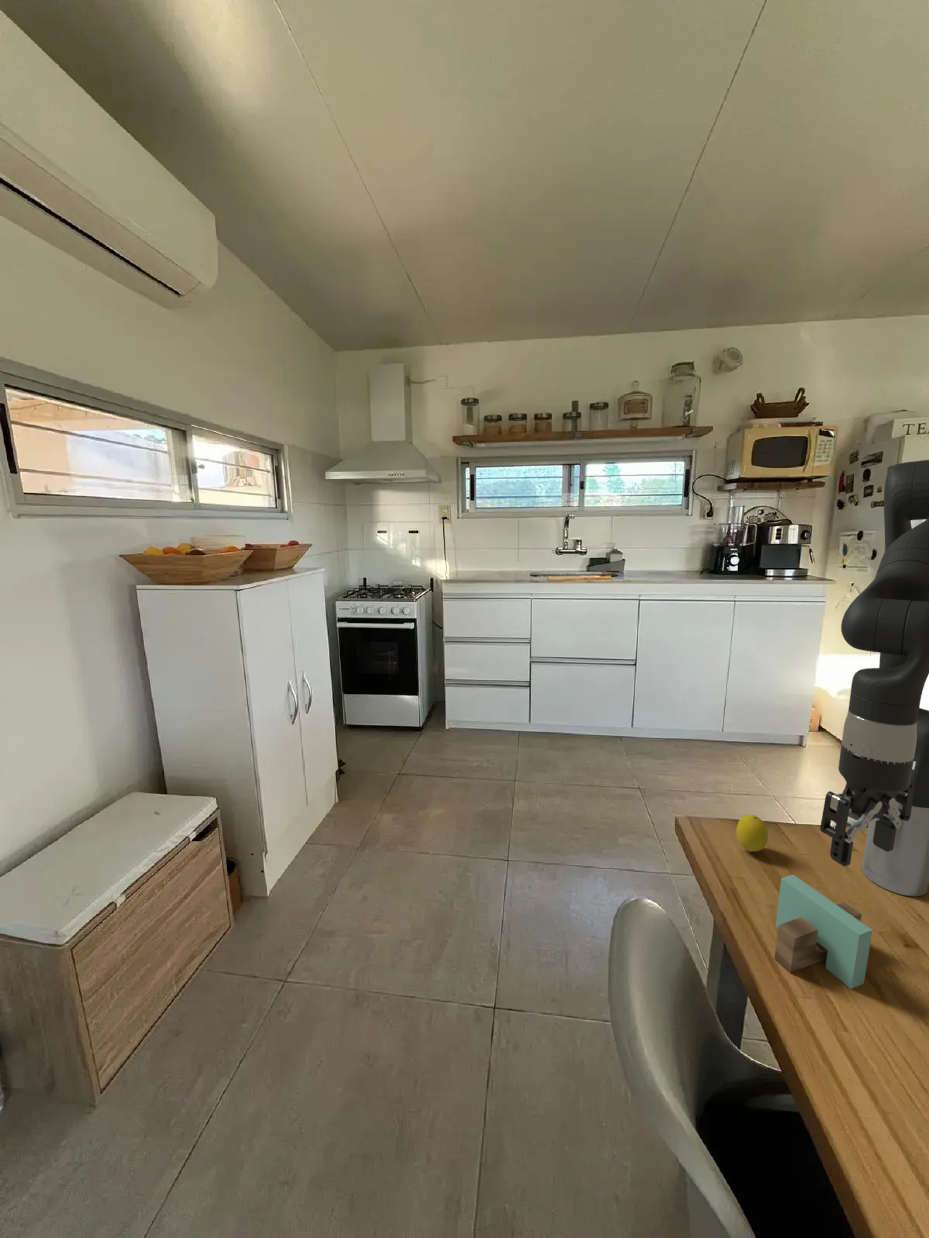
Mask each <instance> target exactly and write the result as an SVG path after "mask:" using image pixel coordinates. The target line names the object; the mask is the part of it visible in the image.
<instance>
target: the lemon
mask: <svg viewBox="0 0 929 1238" xmlns="http://www.w3.org/2000/svg"><path fill="white" fill-rule="evenodd" d="M735 831H736V835H735V836H736V838H737V841H738V843H739V844H740V845H741V847H743V848H744V849H745V850H747V851H748V852H750V853H752V852H759V851H762V850H763V849H765V847H766V845H767V843H768V841H769V840H768V839H769V832H768V828H767V825H766V823H765V822H764V821H763V820H762V819H761V818H760V817H759V816H756V815H755V814H750V815H749V814H748V815H745V816H743V817H741V818H740V819H739V820H738V823H737V825H736V829H735Z"/></svg>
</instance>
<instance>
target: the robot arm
mask: <svg viewBox="0 0 929 1238" xmlns="http://www.w3.org/2000/svg"><path fill="white" fill-rule="evenodd" d="M883 515H884V516H883V519H884V522H883V523H884V554H883V555H882V558H881V559H880V563H879V565H878V568H877V570H876V574H875V576H874V579H873V580H872V581H871V582H870V584H868V586H867V587H866V588H865V589H863V591H861V592H860V593H859V594H858V595H857V596H856V597H855V598H854V600H852V602H850V605H848V607H847V608H846V610H845V612H844V614H843V616H842V620H841V625H840V627H841V628H840V632H841V635H842V637H843V640H844V641H845V642H846V643H847V644H848V645H849V646H850V647H852V648H854V649H856V650H860V651H865V652H871V653H879V665H878V667H869V668H867V667H866V668H862V669H859V670H857V671H856V672H855V673H854V675H853V676H852V681H851V685H850V686H851V687H850V694H849V700H848V701H849V704H848V710H847V713H846V714H847V715H846V718H845V721H844V724H843V729H842V738H841V743H840V745H841V746H840V753H839V761H838V771H839V774H840V776H842V777H843V778H844V780H845V783H846V784H845V786H844V789H843V790H842V793H838V794H837V793H835V792H832V791H830V790H829V791H827V793H826V794H825V799H824V804H823V809H822V810H823V811H822V816H821V821H820V827H819V830H820V832H821V833H823V834H824V835H825V834H826V835H827V836H828V837H831V846H830V855H829V856H830V858H831V859H832V860H833V861H834V862H836V863H837V864H839V865H841V866H843V867H848V866H850V865H851V861H852V855H853V854H852V853H853V845H854V839H855V837H856V836H857V834H858V833H859V831H864V830H866V828H867V833H866V840H865V846H864V853H863V859H862V865H861V870H862V872H863V874H864V876H865V877H866V878H868V880H870V881H871V882H873V883H874V884H876V885H878V886H879V887H881V888H882V889H885V890H888V891H890V892H892V893H895V894H898V895H902V896H906V897H907V896H908V897H920V896H923V895H925V894H926V893H927V891H928V887H929V886H928V885H929V709H925V708H920V706H921V700H922V696H923V691H924V688H925V684H926V681H927V680H928V677H929V459H924V460H916V461H915V460H914V461H908V462H907V461H906V462H901V463H897V464H894V465H892V467H890V469H889V470H888V472H887V474H886V477H885V481H884V487H883ZM922 520H923V521H922ZM911 521H922V522H921V523H919V524H918V525H915V526H914V527H913V528H912V522H911ZM914 762H915V763H914ZM913 765H914V767H913ZM849 814H851V815H852V816H855V817H856V818H857V819H855V818H853V817H850V816H849ZM848 824H849V825H850V826H849V828H848V829H847V825H848Z"/></svg>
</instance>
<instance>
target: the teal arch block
mask: <svg viewBox="0 0 929 1238" xmlns="http://www.w3.org/2000/svg"><path fill="white" fill-rule="evenodd" d="M777 904H778V905H777V910H776V911H777V912H776V920H775V921H776V922H775V927H776V928H777V929H778V926H779V925H780V924H783V923H786V922H789V921H792V920H794V919H797V918H800V917H802V918H804V919H805V920H806V921H807V922H809V923H810V924H811V925H813V926H814V927H815V928H817V929H818V934H817V942H818V943H819V944H820V945H821V946H823V947H824V948H825V949H826V950H828V953H827V959H825V960H826V961H825V967H824V968H825V970H827V971H828V972H830V973H831V974H832V975H833V976H834V977H835V978H837V979H838V980H839V981H841V983H843V984H844V985H845V986H846V987H848V988H849V989H850V990H853V989H855V988H857V987H859V986H862V985H864V984H865V980H866V979H865V978H866V974H867V973H866V972H867V965H868V961H869V960H868V959H869V954H870V947H871V941H872V936H873V935H872V934H873V929H872V928H870V927H869V926H868V925H866V924H864V923H863V922H862V921H861V922H860V921H859V920H857V919H856V918H855V917H853V916H852V915H850V914H849V913H847V912H846V911H845V910H843V909H842V908H840V907H839V906H837V904H836V903H834V902H833V901H832V900H830V899H829V898H828V897H826V896H825V895H823V894H821V893H820V892H819V891H817V890H816V889H815V888H813V887H812V886H811V885H809V884H807V883H806V882H804V881H803V880H802V879H801V878H799V877H797V876H796V875H794V874H790V875H788V876H784V877H781V878H780V886H779V894H778V903H777Z"/></svg>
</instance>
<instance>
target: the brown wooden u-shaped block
mask: <svg viewBox="0 0 929 1238" xmlns="http://www.w3.org/2000/svg"><path fill="white" fill-rule="evenodd" d="M836 905H837V906H839V907H840V908H842V909H843V910H845V911H846V912H847V913H849V914H850V915H852V916H853V917H855V918H856V919H857V920H859V921H860V922H862V917H863V913H861V911H860V910H859V911H858V909H856V908H854V907H853V906H852V905H850V904H848V903H847V902H846V901H843V902H841V903H838V904H836ZM817 934H818V929H817V928H815V927H814V926H813V925H811V924H810V923H809V922H807V921H806V920H805V919H804V918H802V917H800V918H797V919H794V920H792V921H789V922H786V923H783V924H780V925H779V926H778V928H777V935H776V944H775V945H776V946H775V953H774V960H775V961H777V963H778V964H780V965H781V967H783V968H784V969H785V970H786V971H787V972H788V973H789V974H792V973H794V972H797V971H799V970H802V969H804V968H807V967H810V966H812V965H815V964H817V963H820V962H823V961H825V960H827V953H828V950H826V949H825V948H824V947H823V946H821V945H820V944H819V943H818V942H817Z"/></svg>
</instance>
